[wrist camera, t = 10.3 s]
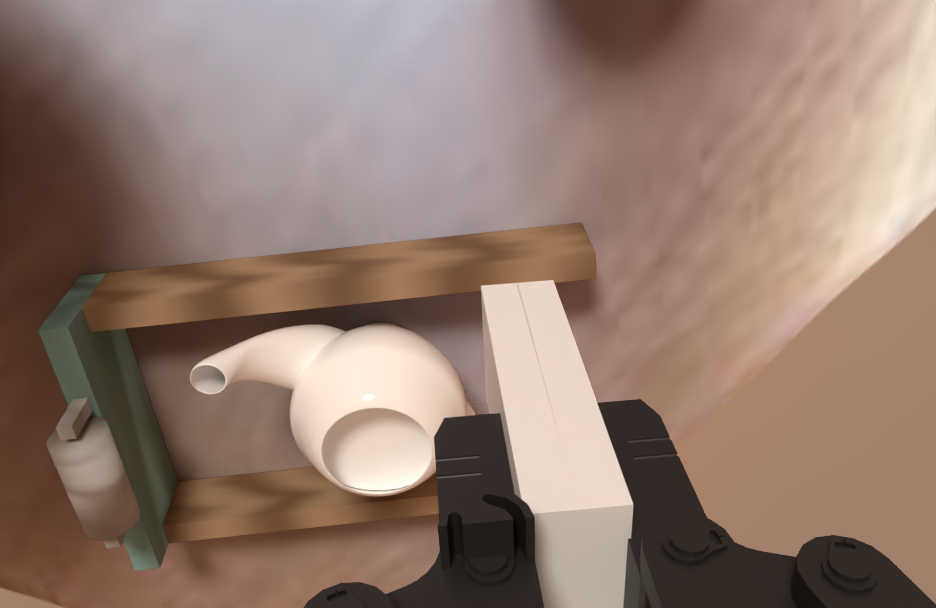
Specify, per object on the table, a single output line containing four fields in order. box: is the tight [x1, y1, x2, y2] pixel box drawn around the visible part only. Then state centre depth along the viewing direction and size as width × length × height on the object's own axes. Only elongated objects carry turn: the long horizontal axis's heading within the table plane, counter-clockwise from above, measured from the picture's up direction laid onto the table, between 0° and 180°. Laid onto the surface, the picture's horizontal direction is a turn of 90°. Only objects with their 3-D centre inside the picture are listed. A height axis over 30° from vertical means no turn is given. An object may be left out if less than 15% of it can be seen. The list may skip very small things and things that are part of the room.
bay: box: [38, 223, 596, 571], centre depth 47 cm, size 29×17×9 cm, turn 95°
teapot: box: [190, 323, 476, 497], centre depth 46 cm, size 10×20×9 cm, turn 58°
